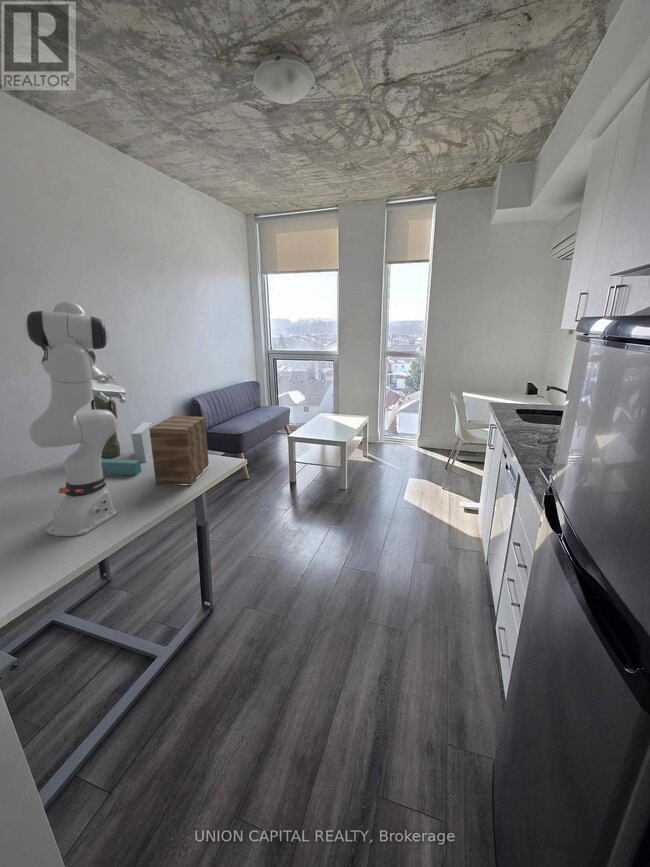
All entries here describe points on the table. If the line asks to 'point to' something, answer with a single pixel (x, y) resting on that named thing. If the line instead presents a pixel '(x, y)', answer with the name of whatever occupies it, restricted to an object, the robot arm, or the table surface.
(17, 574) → the table surface
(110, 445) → the thermos
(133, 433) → the skincare box
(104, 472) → the teal rectangular bar
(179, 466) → the brown wooden box
